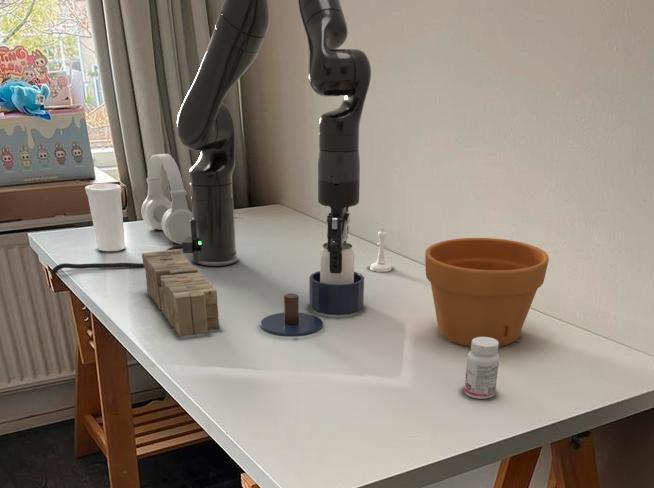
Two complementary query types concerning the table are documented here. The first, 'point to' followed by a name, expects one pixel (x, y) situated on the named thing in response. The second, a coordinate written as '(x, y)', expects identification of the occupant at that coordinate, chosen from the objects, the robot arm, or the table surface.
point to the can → (347, 266)
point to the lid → (291, 320)
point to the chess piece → (381, 254)
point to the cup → (107, 215)
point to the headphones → (166, 200)
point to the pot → (336, 296)
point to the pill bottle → (482, 368)
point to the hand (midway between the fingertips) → (338, 266)
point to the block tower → (181, 292)
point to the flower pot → (483, 287)
